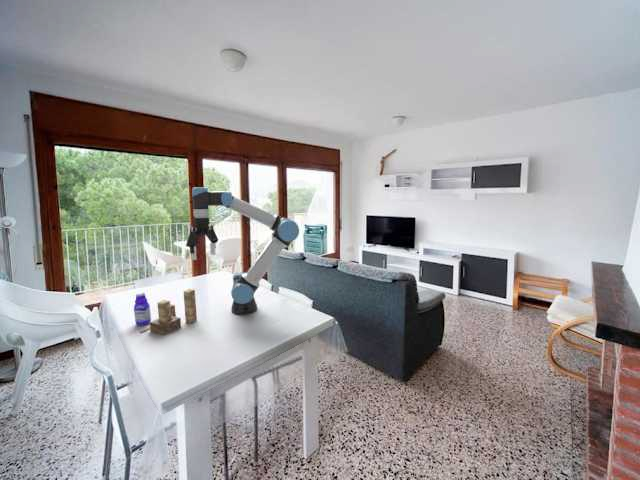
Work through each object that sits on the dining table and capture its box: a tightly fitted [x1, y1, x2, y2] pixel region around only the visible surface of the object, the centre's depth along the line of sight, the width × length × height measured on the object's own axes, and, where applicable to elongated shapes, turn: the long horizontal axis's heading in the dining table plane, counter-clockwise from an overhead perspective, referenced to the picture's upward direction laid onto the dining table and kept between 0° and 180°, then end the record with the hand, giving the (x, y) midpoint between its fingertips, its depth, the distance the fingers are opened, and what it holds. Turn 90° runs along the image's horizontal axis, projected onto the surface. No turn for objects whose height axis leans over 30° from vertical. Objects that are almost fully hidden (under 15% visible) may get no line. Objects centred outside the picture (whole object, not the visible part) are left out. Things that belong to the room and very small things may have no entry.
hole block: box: [149, 316, 182, 336], centre depth 149 cm, size 10×10×5 cm
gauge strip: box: [139, 326, 150, 334], centre depth 152 cm, size 15×2×1 cm, turn 158°
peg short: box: [170, 303, 177, 317], centre depth 164 cm, size 4×4×7 cm
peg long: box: [183, 288, 198, 324], centre depth 157 cm, size 4×4×18 cm
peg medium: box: [157, 299, 171, 323], centre depth 148 cm, size 4×4×15 cm
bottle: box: [133, 291, 152, 326], centre depth 154 cm, size 7×6×17 cm
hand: (204, 257), depth 152 cm, fingers open, 13 cm apart
